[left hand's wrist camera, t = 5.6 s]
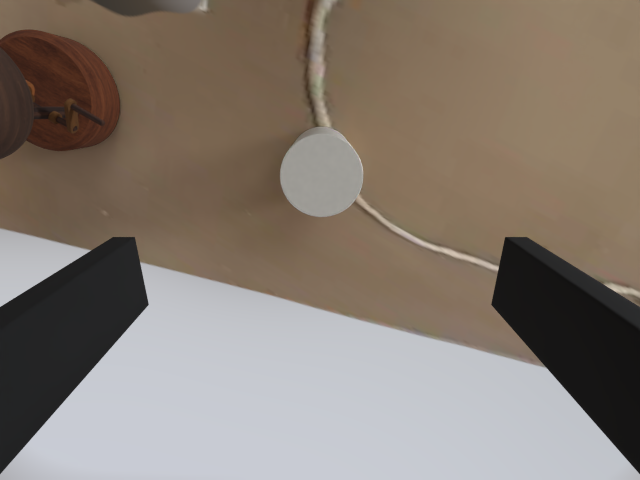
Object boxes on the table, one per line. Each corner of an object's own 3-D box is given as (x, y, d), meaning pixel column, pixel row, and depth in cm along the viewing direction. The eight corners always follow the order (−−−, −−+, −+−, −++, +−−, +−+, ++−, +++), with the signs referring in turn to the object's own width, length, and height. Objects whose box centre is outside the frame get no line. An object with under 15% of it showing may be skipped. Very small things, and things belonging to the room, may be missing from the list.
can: (322, 201, 39) (322, 232, 30) (277, 160, 38) (262, 178, 28) (365, 158, 38) (380, 176, 28) (320, 112, 36) (320, 114, 26)
